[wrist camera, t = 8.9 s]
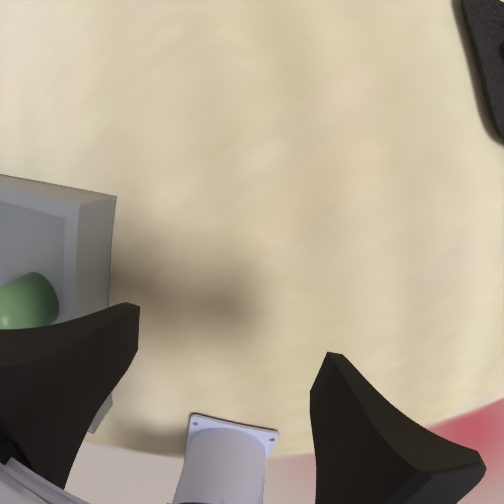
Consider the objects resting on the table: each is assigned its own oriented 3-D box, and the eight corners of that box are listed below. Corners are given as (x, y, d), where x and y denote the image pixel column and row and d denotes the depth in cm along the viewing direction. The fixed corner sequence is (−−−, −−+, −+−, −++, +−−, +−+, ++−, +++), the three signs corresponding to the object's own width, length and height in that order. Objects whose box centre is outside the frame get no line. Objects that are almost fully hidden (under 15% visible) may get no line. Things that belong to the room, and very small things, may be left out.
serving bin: (112, 404, 24) (93, 434, 20) (3, 347, 24) (-19, 365, 20) (116, 196, 19) (79, 204, 15) (-11, 172, 19) (-44, 177, 15)
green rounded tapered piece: (59, 331, 21) (18, 365, 16) (24, 311, 21) (-18, 338, 16) (59, 283, 20) (9, 311, 14) (22, 264, 20) (-26, 286, 14)
